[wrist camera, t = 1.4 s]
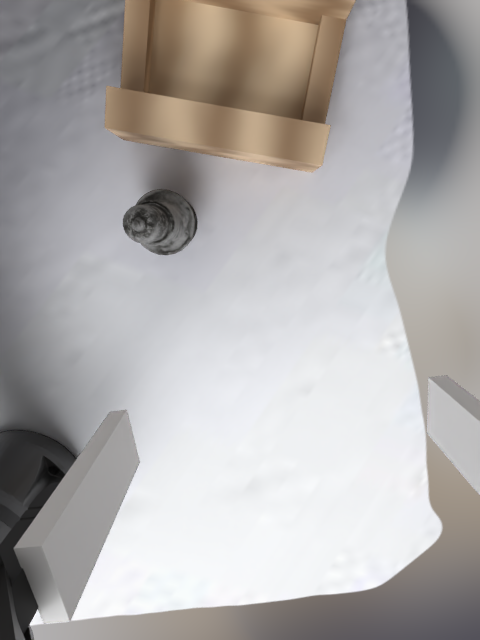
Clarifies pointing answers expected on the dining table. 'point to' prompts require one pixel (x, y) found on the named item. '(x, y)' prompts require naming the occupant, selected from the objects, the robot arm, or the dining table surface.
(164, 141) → the well block
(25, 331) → the dining table surface
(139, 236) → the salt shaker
